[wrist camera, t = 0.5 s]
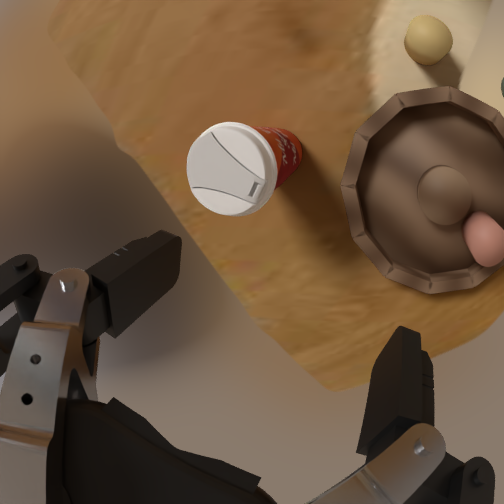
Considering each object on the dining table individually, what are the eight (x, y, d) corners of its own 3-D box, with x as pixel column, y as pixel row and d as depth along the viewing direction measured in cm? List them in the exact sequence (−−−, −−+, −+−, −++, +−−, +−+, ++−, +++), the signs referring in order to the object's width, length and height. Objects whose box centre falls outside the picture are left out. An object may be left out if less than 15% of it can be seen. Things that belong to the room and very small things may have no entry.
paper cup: (323, 138, 32) (289, 150, 20) (294, 195, 36) (246, 239, 24) (262, 108, 33) (197, 106, 21) (238, 164, 37) (169, 192, 25)
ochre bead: (407, 23, 22) (411, 8, 18) (445, 37, 21) (455, 25, 17) (401, 56, 24) (405, 46, 20) (439, 71, 23) (449, 63, 19)
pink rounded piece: (470, 204, 27) (483, 218, 22) (499, 219, 25) (514, 235, 21) (455, 239, 29) (465, 258, 25) (484, 252, 28) (496, 272, 23)
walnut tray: (373, 63, 26) (372, 57, 23) (540, 143, 20) (552, 146, 18) (323, 242, 37) (319, 252, 34) (474, 301, 31) (479, 314, 29)
